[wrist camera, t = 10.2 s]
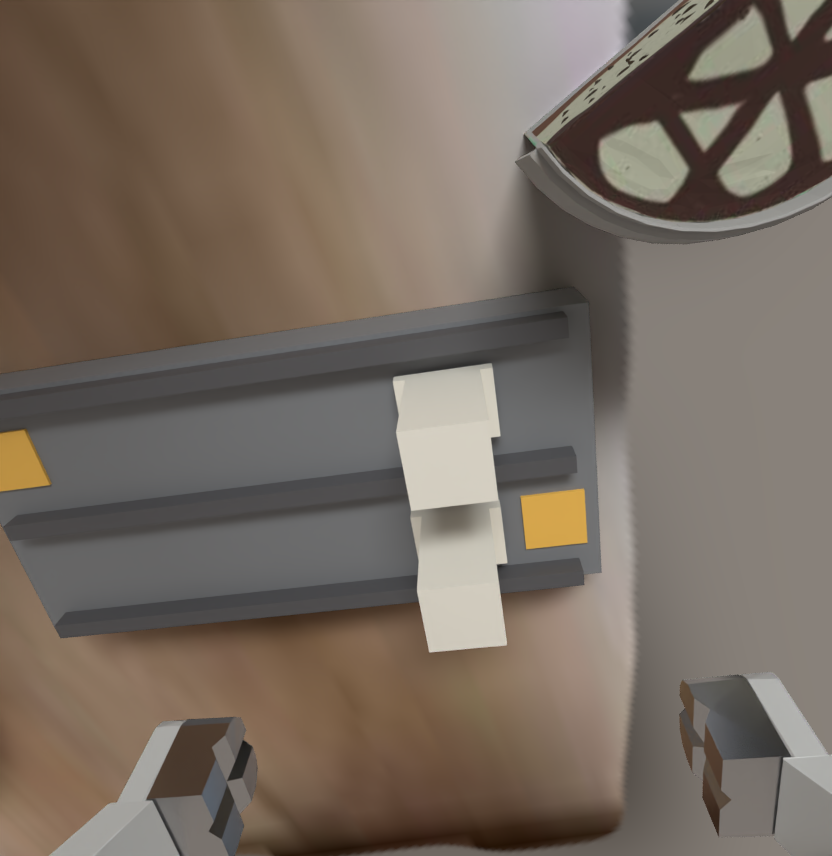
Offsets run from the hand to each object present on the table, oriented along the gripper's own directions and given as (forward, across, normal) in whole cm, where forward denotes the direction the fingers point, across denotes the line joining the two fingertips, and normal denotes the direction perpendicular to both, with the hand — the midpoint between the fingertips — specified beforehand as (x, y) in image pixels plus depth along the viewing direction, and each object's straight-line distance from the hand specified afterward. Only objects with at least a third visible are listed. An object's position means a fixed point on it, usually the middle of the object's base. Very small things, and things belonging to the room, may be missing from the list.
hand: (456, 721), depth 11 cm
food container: (+19, -10, -10) cm, 23 cm away
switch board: (+19, +8, +3) cm, 20 cm away
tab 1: (+15, 0, 0) cm, 15 cm away
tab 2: (+15, 0, +6) cm, 17 cm away
